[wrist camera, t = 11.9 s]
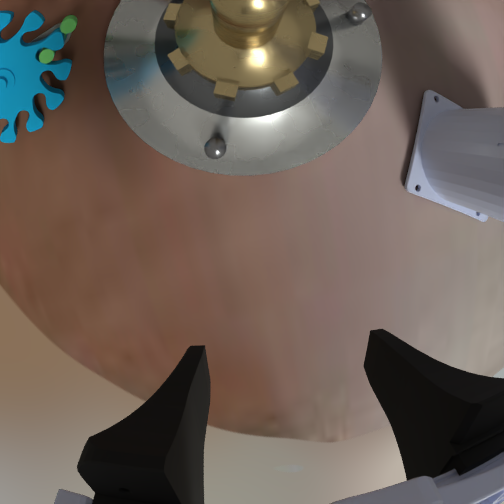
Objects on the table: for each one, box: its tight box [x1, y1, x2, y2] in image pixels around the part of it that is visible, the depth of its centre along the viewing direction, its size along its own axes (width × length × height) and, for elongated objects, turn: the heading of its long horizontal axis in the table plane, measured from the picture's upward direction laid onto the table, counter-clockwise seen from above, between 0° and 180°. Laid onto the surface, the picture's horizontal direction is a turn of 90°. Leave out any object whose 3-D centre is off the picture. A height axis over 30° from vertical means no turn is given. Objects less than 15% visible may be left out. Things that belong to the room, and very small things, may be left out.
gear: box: [0, 10, 77, 143], centre depth 13 cm, size 11×6×10 cm
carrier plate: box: [104, 0, 382, 176], centre depth 15 cm, size 18×18×2 cm
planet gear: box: [163, 0, 328, 102], centre depth 12 cm, size 9×9×6 cm
